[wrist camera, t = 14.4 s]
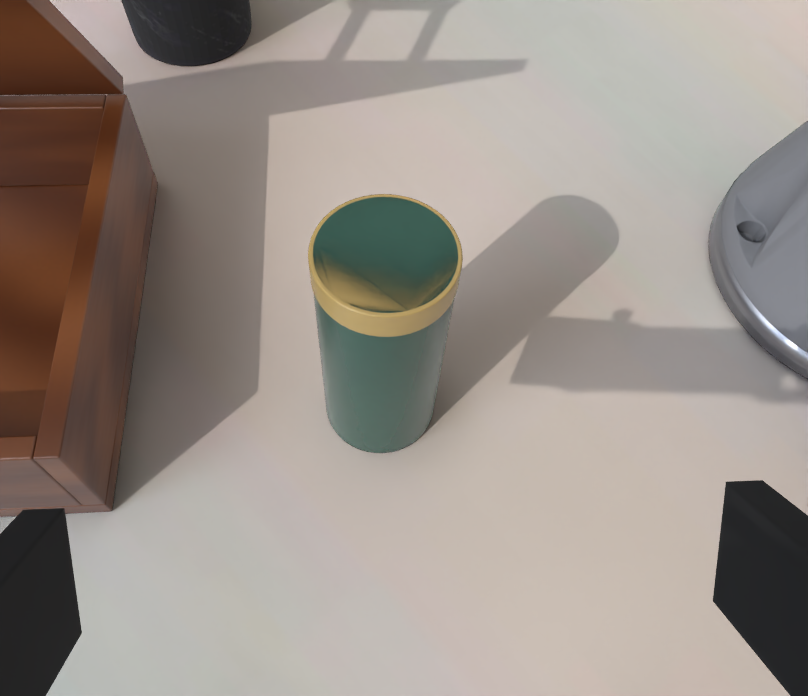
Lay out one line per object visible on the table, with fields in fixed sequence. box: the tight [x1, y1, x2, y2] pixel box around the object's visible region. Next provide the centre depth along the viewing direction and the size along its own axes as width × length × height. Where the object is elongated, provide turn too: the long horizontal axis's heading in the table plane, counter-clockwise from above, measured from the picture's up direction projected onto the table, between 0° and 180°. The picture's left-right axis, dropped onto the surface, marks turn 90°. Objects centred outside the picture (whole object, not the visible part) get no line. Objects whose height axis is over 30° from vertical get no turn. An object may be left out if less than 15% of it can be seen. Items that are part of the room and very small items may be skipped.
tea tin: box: [308, 194, 463, 453], centre depth 28 cm, size 5×5×11 cm
